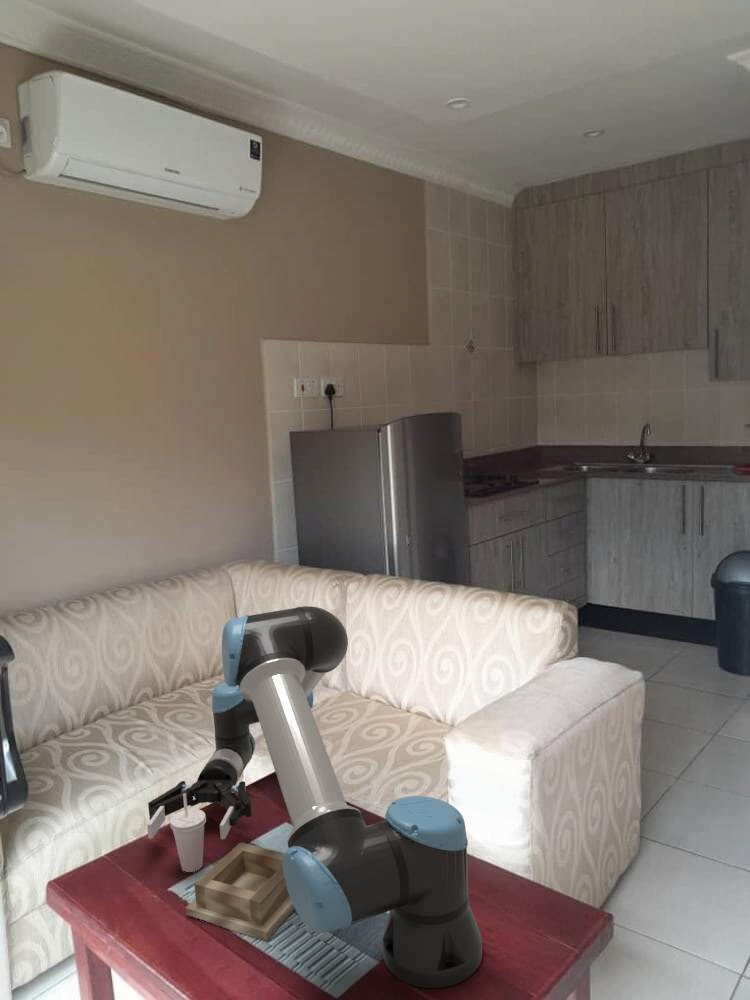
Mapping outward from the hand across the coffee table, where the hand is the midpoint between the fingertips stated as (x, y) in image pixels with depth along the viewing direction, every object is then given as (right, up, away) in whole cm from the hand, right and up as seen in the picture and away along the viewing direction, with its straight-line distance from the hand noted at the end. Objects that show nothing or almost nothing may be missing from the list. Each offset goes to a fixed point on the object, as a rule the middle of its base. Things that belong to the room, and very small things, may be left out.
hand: (185, 832), depth 141 cm
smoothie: (+1, -7, +2) cm, 8 cm away
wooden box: (+13, -8, -9) cm, 18 cm away
